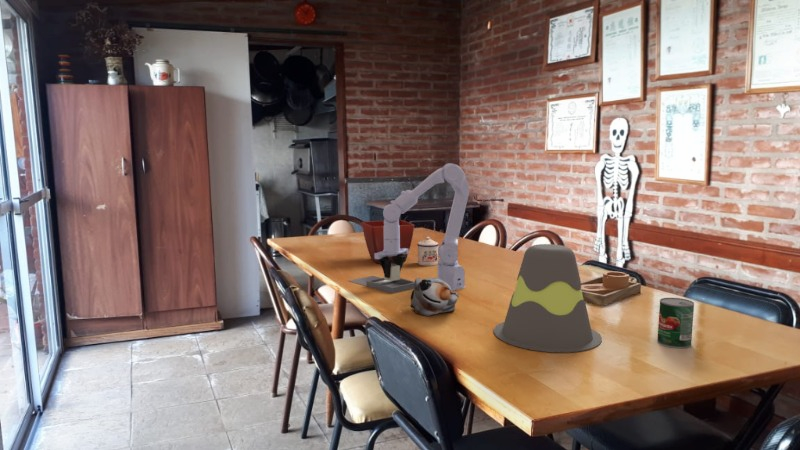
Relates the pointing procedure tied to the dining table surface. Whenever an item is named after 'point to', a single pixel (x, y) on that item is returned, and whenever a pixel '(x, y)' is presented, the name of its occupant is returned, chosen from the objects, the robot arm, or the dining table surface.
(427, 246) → the teacup with lid
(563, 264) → the grey brimmed hat
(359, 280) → the lid panel
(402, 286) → the case
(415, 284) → the grey lumpy rounded piece
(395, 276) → the block
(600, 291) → the brown cup and saucer
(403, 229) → the plant pot
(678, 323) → the canned tomato
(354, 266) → the dining table surface
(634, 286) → the fitting cradle
